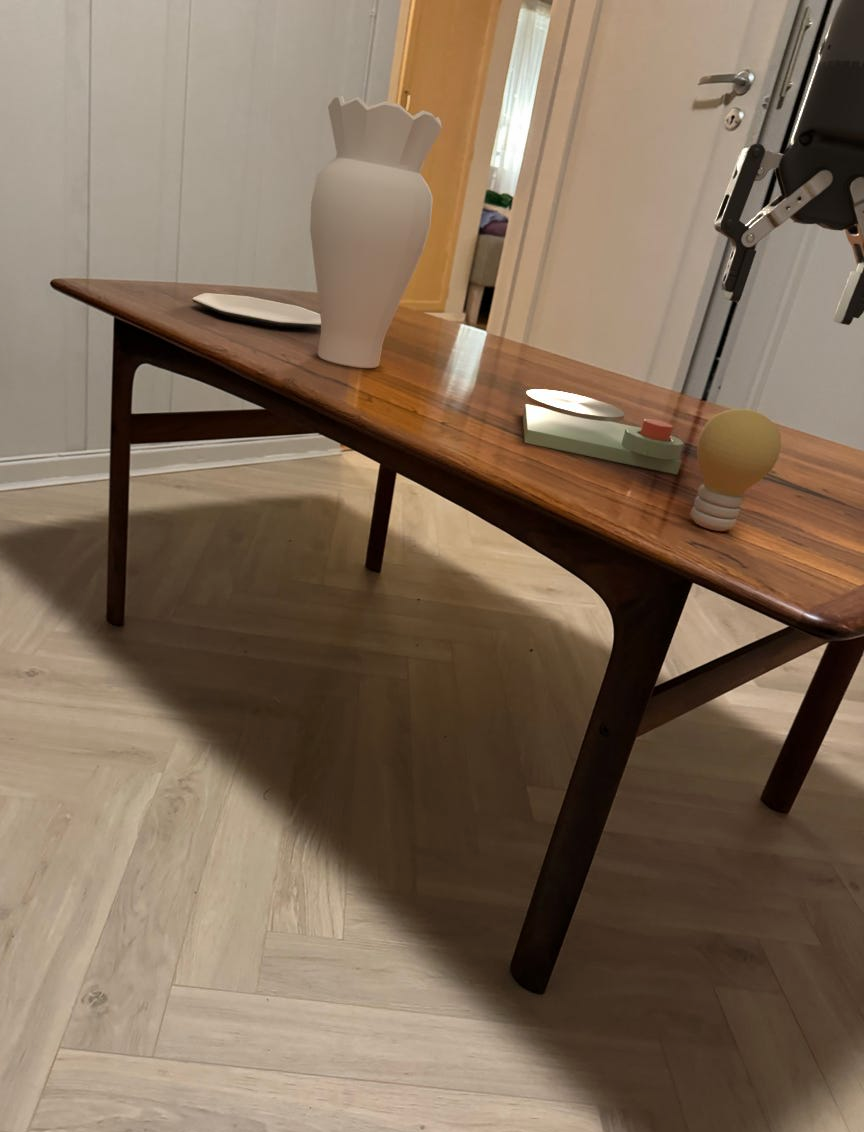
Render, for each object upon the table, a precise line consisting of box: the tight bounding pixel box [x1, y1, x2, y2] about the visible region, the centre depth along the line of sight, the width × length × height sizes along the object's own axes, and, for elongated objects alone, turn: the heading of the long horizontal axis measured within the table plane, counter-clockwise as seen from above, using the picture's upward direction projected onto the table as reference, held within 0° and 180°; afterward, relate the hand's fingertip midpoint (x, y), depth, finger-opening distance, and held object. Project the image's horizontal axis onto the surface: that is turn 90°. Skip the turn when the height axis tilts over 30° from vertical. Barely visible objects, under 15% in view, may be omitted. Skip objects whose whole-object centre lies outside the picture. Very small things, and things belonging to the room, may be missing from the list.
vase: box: [309, 94, 443, 369], centre depth 111 cm, size 15×15×29 cm
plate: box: [191, 292, 321, 329], centre depth 137 cm, size 20×20×2 cm
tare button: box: [640, 418, 674, 442], centre depth 93 cm, size 3×3×2 cm
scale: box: [522, 403, 685, 476], centre depth 98 cm, size 16×15×3 cm
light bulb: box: [690, 408, 782, 532], centre depth 75 cm, size 6×6×10 cm
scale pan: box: [525, 389, 626, 422], centre depth 100 cm, size 11×11×1 cm
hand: (786, 311), depth 70 cm, fingers open, 8 cm apart
